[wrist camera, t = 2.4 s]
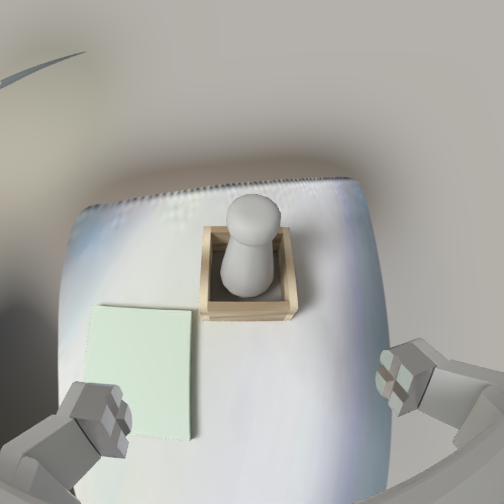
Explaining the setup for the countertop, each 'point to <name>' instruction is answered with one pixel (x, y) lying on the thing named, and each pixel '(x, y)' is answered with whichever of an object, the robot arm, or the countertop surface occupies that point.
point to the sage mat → (144, 365)
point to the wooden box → (247, 311)
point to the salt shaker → (250, 245)
